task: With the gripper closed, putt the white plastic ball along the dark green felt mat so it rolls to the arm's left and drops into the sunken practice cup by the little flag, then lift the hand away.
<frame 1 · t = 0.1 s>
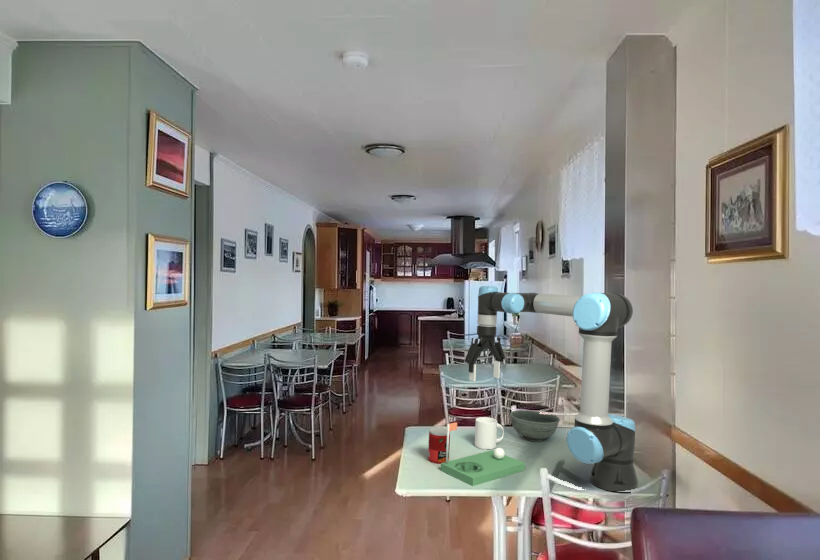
hand: (484, 379, 210), 28 cm above the table, fingers open, 13 cm apart
putting mat: (483, 470, 188), on the table
mug: (489, 446, 214), on the table
canned food: (438, 460, 196), on the table
bowl: (533, 439, 227), on the table
ball: (499, 453, 193), point 4 cm above the table, touching putting mat
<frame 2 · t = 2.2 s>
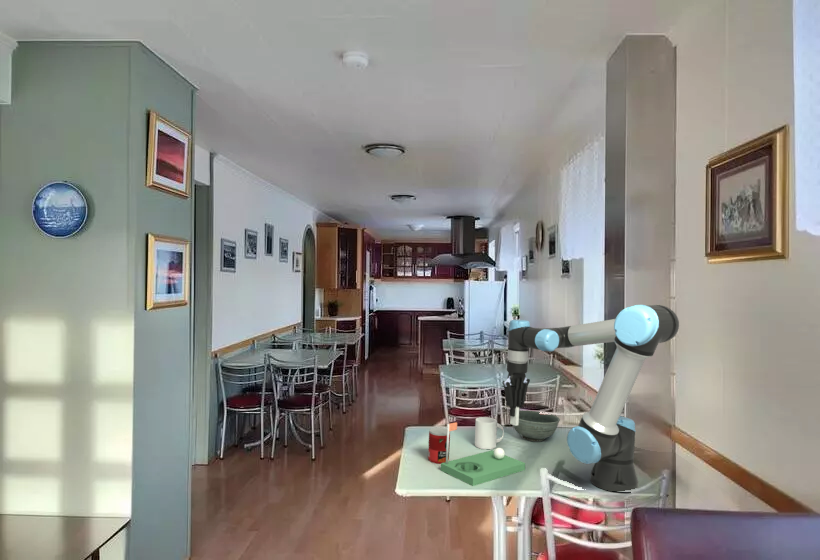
hand: (514, 424, 198), 14 cm above the table, fingers closed
nothing on the table moved.
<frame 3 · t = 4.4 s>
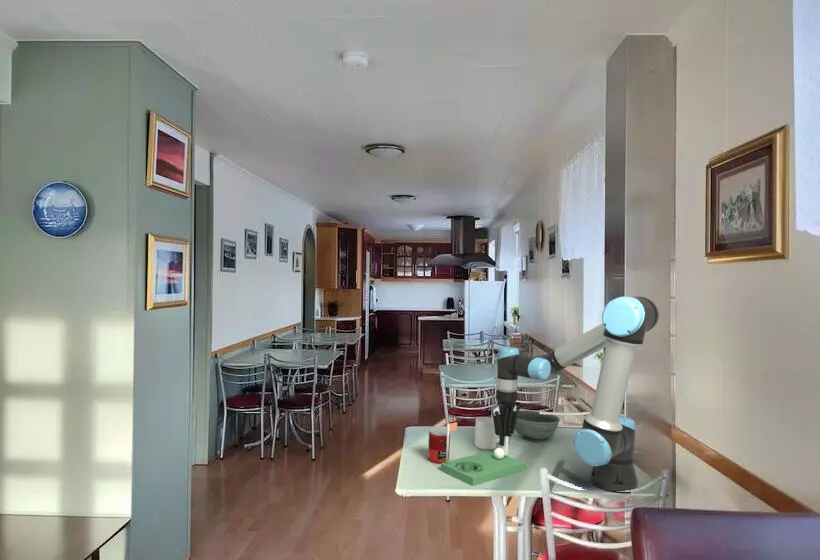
hand: (503, 453, 195), 4 cm above the table, fingers closed
ball: (499, 453, 193), point 4 cm above the table, touching gripper, putting mat
everything else where it was.
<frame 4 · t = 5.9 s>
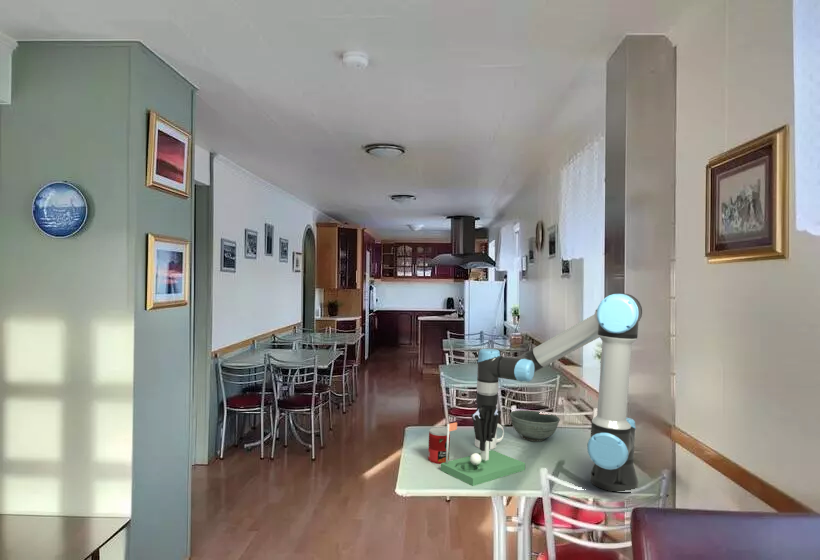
hand: (484, 459, 188), 4 cm above the table, fingers closed
ball: (475, 459, 186), point 4 cm above the table, tilted 31°, touching putting mat
everything else where it was.
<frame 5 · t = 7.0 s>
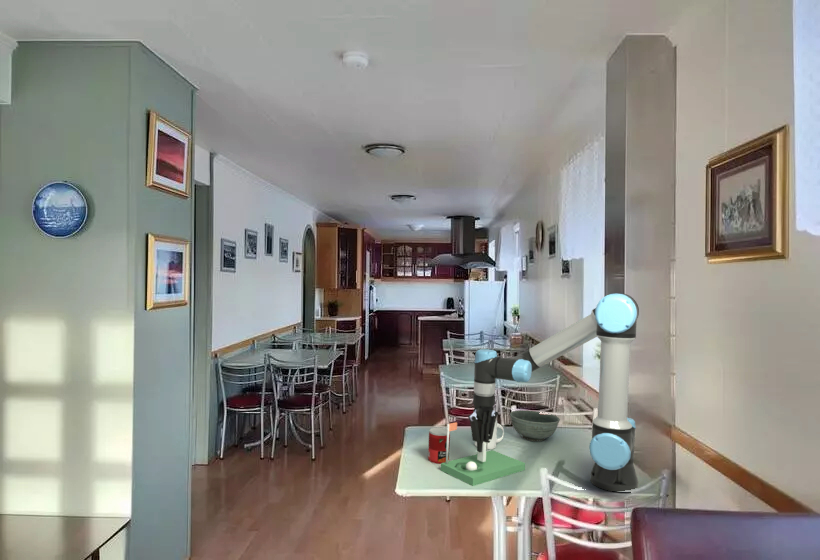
hand: (481, 460, 187), 4 cm above the table, fingers closed
ball: (471, 467, 184), point 2 cm above the table, tilted 53°, touching putting mat
everything else where it was.
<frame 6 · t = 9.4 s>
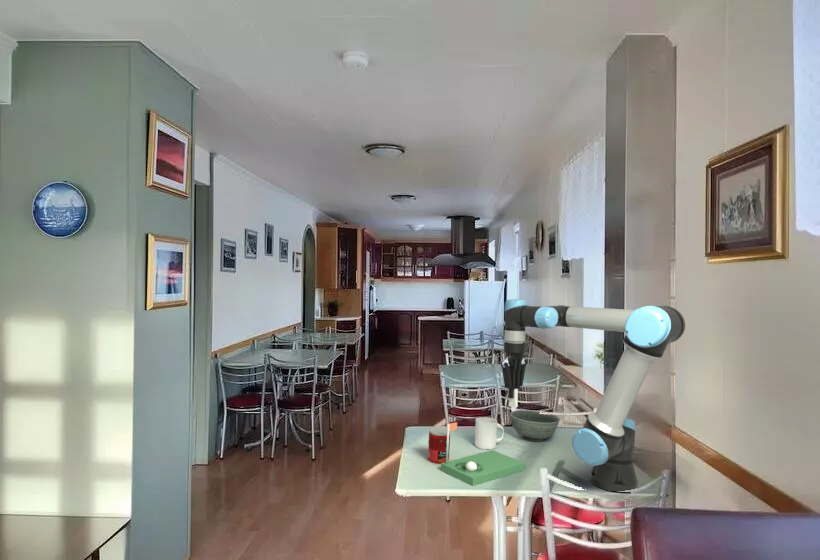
hand: (513, 406, 194), 22 cm above the table, fingers closed
nothing on the table moved.
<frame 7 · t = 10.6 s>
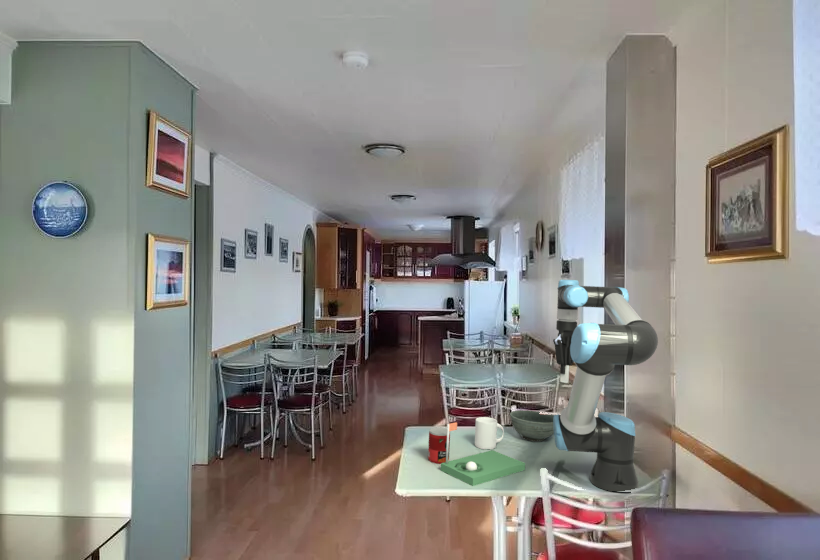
hand: (564, 382, 202), 29 cm above the table, fingers closed
nothing on the table moved.
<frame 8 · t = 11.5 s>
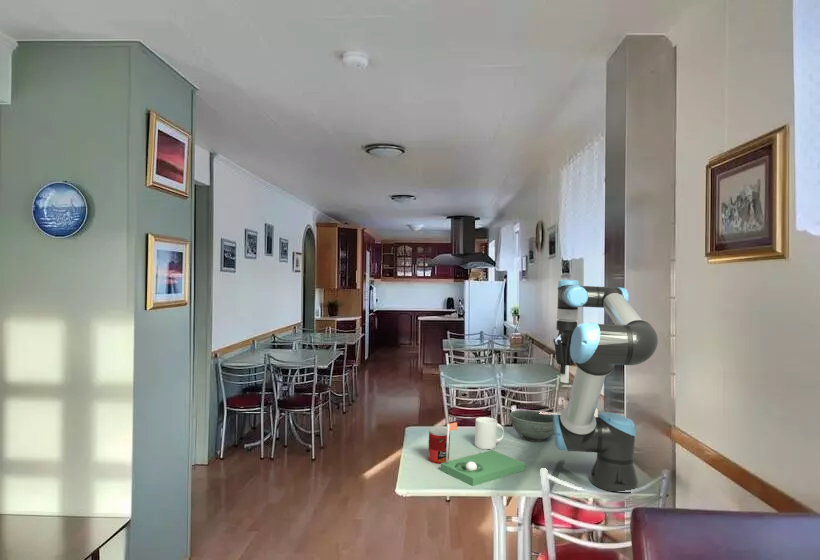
hand: (564, 382, 202), 29 cm above the table, fingers closed
nothing on the table moved.
at the end: ball 0.9 cm from the target spot on the putting mat, point 2.2 cm above the putting mat's base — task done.
